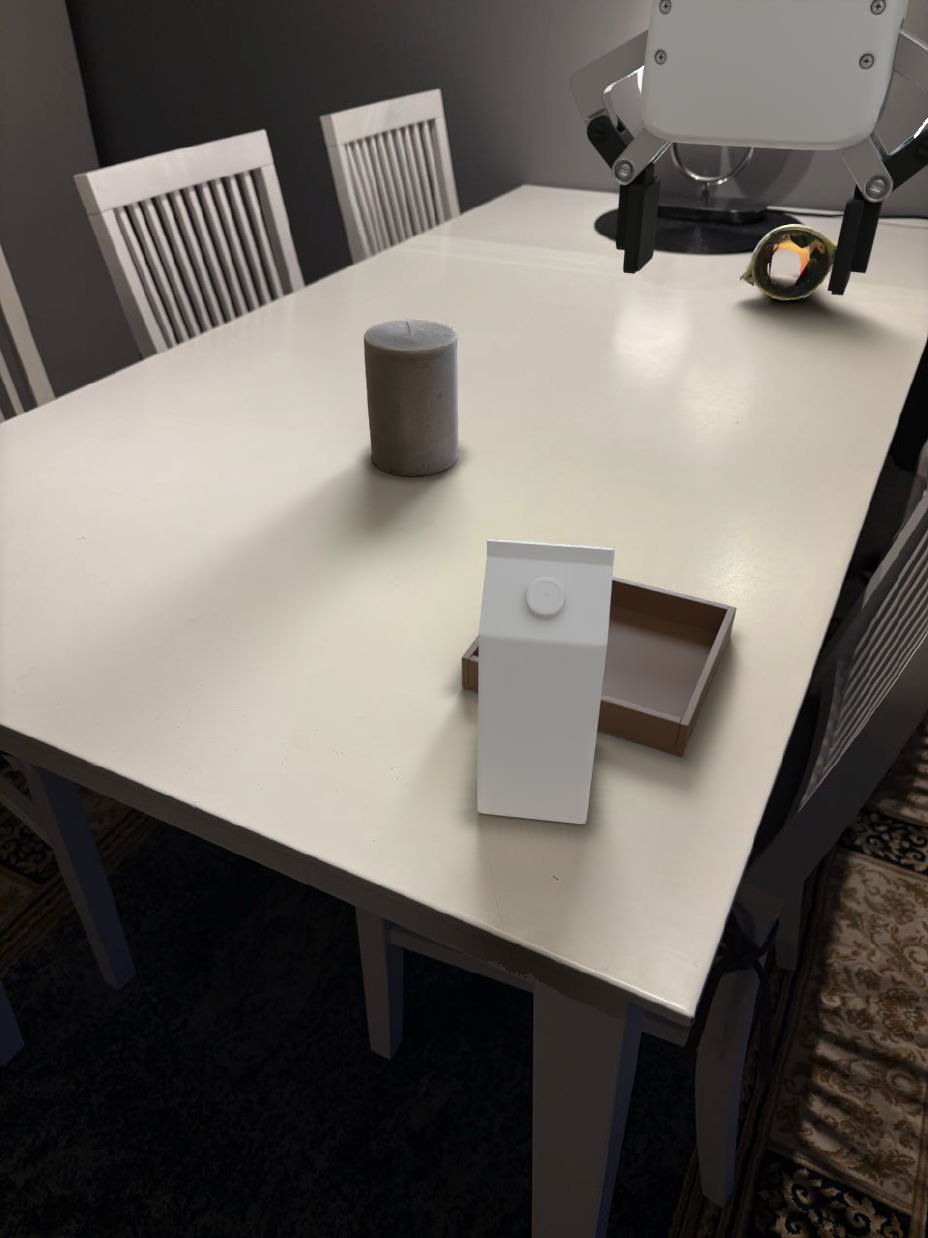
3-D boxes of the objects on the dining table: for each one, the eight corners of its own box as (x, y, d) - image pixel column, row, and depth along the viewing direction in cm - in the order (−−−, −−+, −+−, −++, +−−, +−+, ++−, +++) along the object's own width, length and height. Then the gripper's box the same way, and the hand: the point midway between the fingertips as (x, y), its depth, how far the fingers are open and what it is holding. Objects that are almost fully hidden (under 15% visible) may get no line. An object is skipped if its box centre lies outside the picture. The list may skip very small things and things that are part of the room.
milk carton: (490, 739, 65) (494, 508, 54) (589, 749, 64) (615, 516, 53) (476, 815, 60) (478, 575, 48) (585, 827, 59) (614, 585, 47)
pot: (838, 216, 149) (853, 202, 132) (848, 286, 152) (863, 282, 135) (730, 246, 154) (731, 237, 138) (741, 314, 157) (744, 313, 141)
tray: (730, 636, 75) (736, 607, 73) (682, 757, 64) (688, 726, 62) (535, 585, 81) (537, 556, 79) (461, 687, 70) (461, 657, 68)
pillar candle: (374, 480, 96) (365, 341, 87) (368, 440, 104) (359, 307, 95) (465, 473, 97) (465, 335, 88) (452, 434, 105) (451, 303, 96)
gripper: (1061, -201, 34) (930, 273, 44) (612, -170, 40) (588, 241, 50) (1077, -227, 28) (923, 321, 39) (554, -187, 34) (540, 279, 45)
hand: (734, 276), depth 44 cm, fingers open, 9 cm apart
